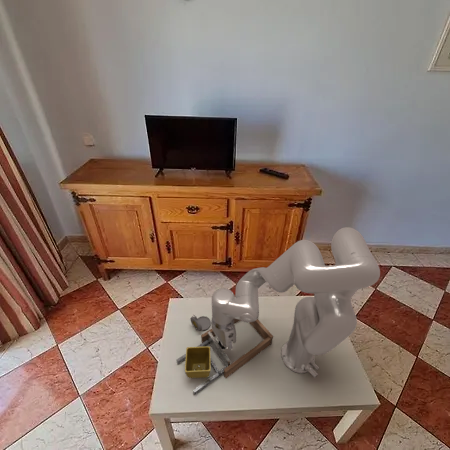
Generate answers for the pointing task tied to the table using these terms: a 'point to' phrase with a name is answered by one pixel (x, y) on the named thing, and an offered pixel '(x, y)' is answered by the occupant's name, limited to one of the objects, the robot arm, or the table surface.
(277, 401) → the table surface
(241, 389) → the table surface
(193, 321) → the pocket watch
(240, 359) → the frame
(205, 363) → the flower pot
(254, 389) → the table surface
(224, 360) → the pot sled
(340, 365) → the table surface
